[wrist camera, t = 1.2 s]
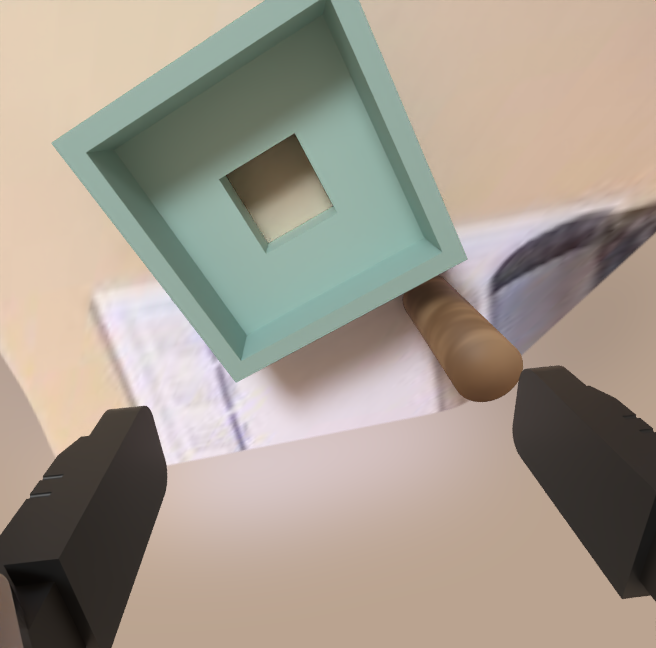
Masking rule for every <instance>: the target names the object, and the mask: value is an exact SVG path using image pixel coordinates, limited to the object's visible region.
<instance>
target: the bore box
mask: <svg viewBox="0 0 656 648" xmlns="http://www.w3.org/2000/svg"><path fill="white" fill-rule="evenodd" d="M294 133H295V135H296V137H297V139H298V141H299V143H300V144H301V146H302V148H303V150H304V152H305V154H306V156H307V158H308V159H309V161H310V163H311V165H312V167H313V169H314V171H315V173H316V174H317V176H318V178H319V180H320V182H321V184H322V186H323V188H324V189H325V191H326V193H327V195H328V197H329V199H330V201H331V203H332V204H333V207H331V208H329V209H327V210H326V211H324V212H322V213H321V214H319V215H317V216H315V217H314V218H312V219H310V220H308V221H307V222H305V223H303V224H301V225H300V226H298V227H296V228H295V229H293V230H291V231H289V232H288V233H286V234H284V235H282V236H281V237H279V238H277V239H275V240H274V241H272V242H270V243H269V244H268V243H267V241H266V239H265V238H264V236H263V235H262V233H261V231H260V230H259V228H258V227H257V225H256V223H255V222H254V220H253V219H252V217H251V215H250V214H249V212H248V211H247V209H246V207H245V206H244V204H243V203H242V201H241V199H240V198H239V196H238V195H237V193H236V191H235V190H234V188H233V187H232V185H231V183H230V182H229V180H228V178H227V177H226V175H227V174H229V173H230V172H232V171H233V170H235V169H237V168H238V167H240V166H242V165H243V164H245V163H247V162H248V161H250V160H251V159H253V158H255V157H256V156H258V155H260V154H261V153H263V152H265V151H266V150H268V149H269V148H271V147H273V146H274V145H276V144H278V143H279V142H281V141H283V140H284V139H286V138H287V137H289V136H291V135H292V134H294ZM52 145H53V146H54V147H55V149H56V150H57V151H58V152H59V154H60V155H61V156H62V158H63V159H64V160H65V162H66V163H67V164H68V165H69V167H70V168H71V169H72V171H73V172H74V173H75V175H76V176H77V177H78V178H79V180H80V181H81V182H82V184H83V185H84V186H85V188H86V189H87V190H88V191H89V193H90V194H91V195H92V197H93V198H94V199H95V200H96V202H97V203H98V204H99V206H100V207H101V208H102V210H103V211H104V212H105V213H106V215H107V216H108V217H109V219H110V220H111V221H112V223H113V224H114V225H115V226H116V228H117V229H118V230H119V232H120V233H121V234H122V235H123V237H124V238H125V239H126V241H127V242H128V243H129V245H130V246H131V247H132V248H133V250H134V251H135V252H136V254H137V255H138V256H139V258H140V259H141V260H142V261H143V263H144V264H145V265H146V267H147V268H148V269H149V270H150V272H151V273H152V274H153V276H154V277H155V278H156V280H157V281H158V282H159V283H160V285H161V286H162V287H163V289H164V290H165V291H166V293H167V294H168V295H169V296H170V298H171V299H172V300H173V302H174V303H175V304H176V305H177V307H178V308H179V309H180V311H181V312H182V313H183V315H184V316H185V317H186V318H187V320H188V321H189V322H190V324H191V325H192V326H193V328H194V329H195V330H196V331H197V333H198V334H199V335H200V337H201V338H202V339H203V340H204V342H205V343H206V344H207V346H208V347H209V348H210V350H211V351H212V352H213V353H214V355H215V356H216V357H217V359H218V360H219V361H220V363H221V364H222V365H223V366H224V368H225V369H226V370H227V372H228V373H229V374H230V376H231V377H232V378H233V379H234V381H235V382H238V381H240V380H242V379H244V378H246V377H248V376H249V375H251V374H253V373H255V372H257V371H259V370H261V369H263V368H264V367H266V366H268V365H270V364H272V363H274V362H276V361H278V360H279V359H281V358H283V357H285V356H287V355H289V354H291V353H293V352H294V351H296V350H298V349H300V348H302V347H304V346H306V345H308V344H310V343H311V342H313V341H315V340H317V339H319V338H321V337H323V336H325V335H326V334H328V333H330V332H332V331H334V330H336V329H338V328H340V327H341V326H343V325H345V324H347V323H349V322H351V321H353V320H355V319H356V318H358V317H360V316H362V315H364V314H366V313H368V312H370V311H371V310H373V309H375V308H377V307H379V306H381V305H383V304H385V303H386V302H388V301H390V300H392V299H394V298H396V297H398V296H400V295H402V294H403V293H405V292H407V291H409V290H411V289H413V288H415V287H417V286H418V285H420V284H422V283H424V282H426V281H428V280H430V279H432V278H433V277H435V276H437V275H439V274H441V273H443V272H445V271H447V270H448V269H450V268H452V267H454V266H456V265H458V264H460V263H462V262H463V261H465V260H467V257H466V254H465V252H464V250H463V247H462V245H461V242H460V240H459V238H458V235H457V233H456V231H455V228H454V226H453V223H452V221H451V219H450V216H449V214H448V211H447V209H446V207H445V204H444V202H443V200H442V197H441V195H440V192H439V190H438V188H437V185H436V183H435V181H434V178H433V176H432V173H431V171H430V169H429V166H428V164H427V162H426V159H425V157H424V154H423V152H422V150H421V147H420V145H419V142H418V140H417V138H416V135H415V133H414V131H413V128H412V126H411V123H410V121H409V119H408V116H407V114H406V112H405V109H404V107H403V104H402V102H401V100H400V97H399V95H398V92H397V90H396V88H395V85H394V83H393V81H392V78H391V76H390V73H389V71H388V69H387V66H386V64H385V62H384V59H383V57H382V54H381V52H380V50H379V47H378V45H377V43H376V40H375V38H374V35H373V33H372V31H371V28H370V26H369V23H368V21H367V19H366V16H365V14H364V12H363V9H362V7H361V4H360V2H359V0H265V1H263V2H262V3H260V4H259V5H257V6H256V7H254V8H253V9H251V10H250V11H248V12H247V13H245V14H244V15H242V16H241V17H239V18H238V19H236V20H235V21H233V22H232V23H230V24H229V25H227V26H226V27H224V28H223V29H221V30H220V31H218V32H217V33H215V34H214V35H212V36H211V37H209V38H208V39H206V40H205V41H203V42H202V43H200V44H199V45H197V46H196V47H194V48H193V49H191V50H190V51H188V52H187V53H185V54H184V55H182V56H181V57H179V58H178V59H176V60H175V61H173V62H172V63H170V64H169V65H167V66H166V67H164V68H163V69H161V70H160V71H158V72H157V73H155V74H154V75H152V76H151V77H149V78H148V79H146V80H145V81H143V82H142V83H140V84H139V85H137V86H136V87H134V88H133V89H131V90H130V91H128V92H127V93H125V94H124V95H122V96H121V97H119V98H118V99H116V100H115V101H113V102H112V103H110V104H109V105H107V106H106V107H104V108H103V109H101V110H100V111H98V112H97V113H95V114H94V115H92V116H91V117H89V118H88V119H86V120H85V121H83V122H82V123H80V124H79V125H77V126H76V127H74V128H73V129H71V130H70V131H68V132H67V133H65V134H64V135H62V136H61V137H59V138H58V139H56V140H55V141H53V142H52Z"/></svg>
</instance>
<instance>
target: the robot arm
mask: <svg viewBox="0 0 656 648" xmlns="http://www.w3.org/2000/svg"><path fill="white" fill-rule="evenodd" d="M513 439H514V443H515V447H516V449H517V452H518V454H519V455H520V457H521V458H522V460H523V461H524V463H525V464H526V465H527V467H528V468H529V469H530V471H531V472H532V474H533V475H534V477H535V478H536V479H537V481H538V482H539V484H540V485H541V486H542V488H543V489H544V491H545V492H546V493H547V495H548V496H549V498H550V499H551V500H552V502H553V503H554V504H555V506H556V507H557V509H558V510H559V512H560V513H561V514H562V516H563V517H564V519H565V520H566V521H567V523H568V524H569V526H570V527H571V528H572V530H573V531H574V532H575V534H576V535H577V537H578V538H579V539H580V541H581V542H582V544H583V545H584V547H585V548H586V549H587V550H588V552H589V553H590V555H591V556H592V558H593V559H594V560H595V562H596V563H597V564H598V566H599V567H600V569H601V570H602V572H603V573H604V575H605V576H606V577H607V578H608V580H609V582H610V583H611V584H612V586H613V587H614V589H615V590H616V591H617V593H618V594H619V596H621V598H622V599H626V598H632V597H641V596H649V595H651V596H652V597H653V599H654V600H655V601H656V432H653V428H652V427H650V426H649V425H648V424H647V423H646V422H644V421H643V420H642V419H641V418H636V414H634V413H633V412H632V411H631V410H629V409H628V408H627V407H626V406H625V405H623V404H622V403H621V402H620V401H618V400H617V399H616V398H614V397H612V396H610V395H608V394H605V393H604V392H601V391H599V390H597V389H595V388H593V387H591V386H586V385H585V384H584V383H582V382H581V381H580V380H579V379H578V378H576V377H575V376H574V375H573V374H572V373H571V372H569V371H568V370H567V369H566V368H564V367H562V366H549V367H539V368H530V369H524V370H523V371H522V372H521V374H520V377H519V382H518V390H517V398H516V405H515V413H514V420H513ZM166 486H167V466H166V461H165V458H164V454H163V451H162V447H161V443H160V440H159V436H158V433H157V429H156V426H155V422H154V418H153V415H152V412H151V410H150V409H149V408H148V407H147V406H139V407H129V408H119V409H109V410H107V411H106V412H105V413H104V414H103V416H102V417H101V419H100V420H99V422H98V423H97V425H96V426H95V428H94V429H93V431H92V432H91V434H90V436H84V437H80V438H79V439H78V440H77V441H75V442H74V443H73V444H72V445H70V446H69V447H68V448H67V449H65V450H64V451H63V452H62V453H60V454H59V455H58V456H57V457H56V459H55V460H54V462H53V463H52V464H51V466H50V467H49V469H48V470H47V472H46V473H45V474H44V475H43V480H40V481H39V483H38V484H37V485H36V487H35V488H34V490H33V491H32V492H31V493H30V499H26V500H25V502H24V503H23V505H22V506H21V507H20V509H19V510H18V512H17V513H16V514H15V516H14V517H13V518H12V520H11V521H10V523H9V524H8V525H7V527H6V528H5V529H4V531H3V532H2V534H1V535H0V648H111V647H112V644H113V642H114V638H115V636H116V633H117V630H118V627H119V624H120V622H121V618H122V615H123V613H124V610H125V607H126V604H127V601H128V599H129V596H130V593H131V590H132V587H133V584H134V581H135V578H136V576H137V572H138V570H139V567H140V564H141V561H142V558H143V555H144V552H145V550H146V547H147V544H148V541H149V538H150V535H151V532H152V530H153V527H154V524H155V521H156V518H157V515H158V512H159V510H160V506H161V504H162V501H163V497H164V495H165V491H166Z"/></svg>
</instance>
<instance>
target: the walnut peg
mask: <svg viewBox="0 0 656 648" xmlns="http://www.w3.org/2000/svg"><path fill="white" fill-rule="evenodd" d="M403 305H404V308H405V310H406V311H407V313H408V315H409V316H410V318H411V319H412V321H413V322H414V324H415V326H416V327H417V329H418V330H419V332H420V333H421V335H422V336H423V338H424V340H425V341H426V343H427V344H428V346H429V347H430V349H431V351H432V352H433V354H434V355H435V357H436V358H437V360H438V361H439V363H440V365H441V366H442V368H443V369H444V371H445V372H446V374H447V376H448V377H449V379H450V380H451V382H452V383H453V385H454V386H455V388H456V390H457V391H458V392H459V393H460V395H462V396H463V397H464V398H466V399H468V400H471V401H475V402H487V401H492V400H495V399H498V398H500V397H502V396H503V395H505V394H507V393H508V392H509V391H510V390H511V389H512V388H513V387H514V386H515V385H516V384H517V382H518V381H519V377H520V374H521V372H522V370H523V360H522V357H521V354H520V352H519V351H518V350H517V349H516V348H515V347H514V346H513V345H512V344H511V343H510V342H509V341H508V340H507V339H506V338H505V337H504V336H503V335H502V334H501V333H500V332H499V331H498V330H497V329H496V328H495V327H493V326H492V325H491V324H490V323H489V322H488V321H487V320H486V319H485V318H484V317H483V316H482V315H481V314H480V313H479V312H478V311H477V310H476V309H475V308H474V307H473V306H472V305H471V304H470V303H469V302H468V301H466V300H465V299H464V298H463V297H462V296H461V295H460V294H459V293H458V292H457V291H456V290H455V289H454V288H453V287H452V286H451V285H450V284H449V283H448V282H447V281H446V280H445V279H443V278H442V277H440V276H438V275H437V276H435V277H433V278H432V279H430V280H428V281H426V282H424V283H422V284H420V285H418V286H417V287H415V288H413V289H411V290H409V291H407V292H405V293H404V295H403Z"/></svg>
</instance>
